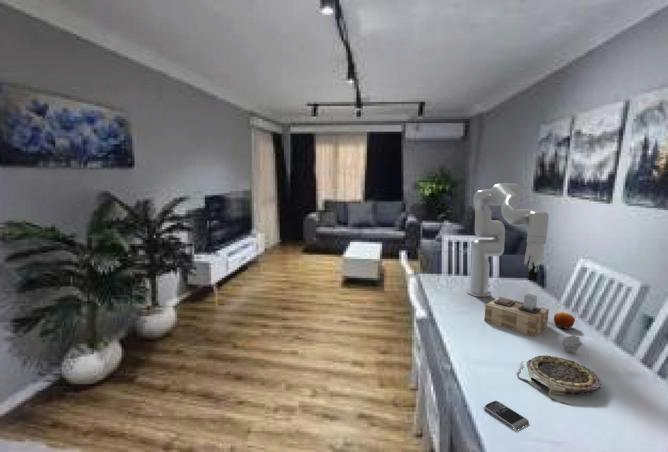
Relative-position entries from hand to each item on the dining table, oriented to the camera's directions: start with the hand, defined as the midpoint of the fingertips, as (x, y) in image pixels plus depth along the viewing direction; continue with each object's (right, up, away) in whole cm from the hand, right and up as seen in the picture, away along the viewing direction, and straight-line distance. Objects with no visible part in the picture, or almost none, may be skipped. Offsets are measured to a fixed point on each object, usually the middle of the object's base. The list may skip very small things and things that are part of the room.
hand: (532, 280), depth 163 cm
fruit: (+16, -22, +4) cm, 28 cm away
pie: (-11, -29, -39) cm, 50 cm away
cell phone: (-39, -31, -57) cm, 76 cm away
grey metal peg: (0, -16, +3) cm, 16 cm away
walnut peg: (-8, -20, +12) cm, 25 cm away
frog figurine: (+4, -26, -19) cm, 32 cm away
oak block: (-4, -21, +8) cm, 23 cm away
